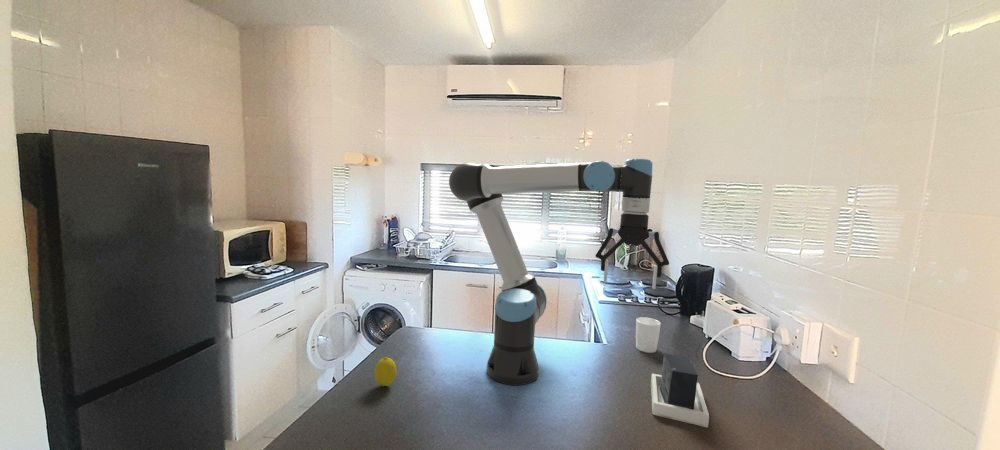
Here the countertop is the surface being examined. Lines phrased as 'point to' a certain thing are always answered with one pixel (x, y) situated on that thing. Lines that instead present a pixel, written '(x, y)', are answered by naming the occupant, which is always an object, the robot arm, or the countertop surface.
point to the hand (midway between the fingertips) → (629, 284)
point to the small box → (678, 381)
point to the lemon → (385, 371)
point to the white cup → (647, 334)
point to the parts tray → (675, 412)
